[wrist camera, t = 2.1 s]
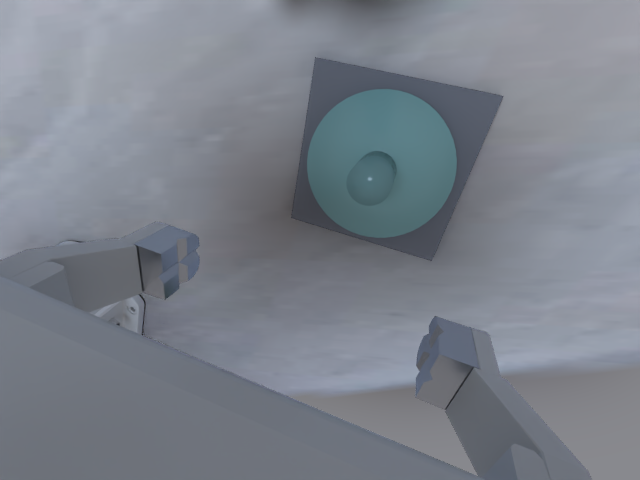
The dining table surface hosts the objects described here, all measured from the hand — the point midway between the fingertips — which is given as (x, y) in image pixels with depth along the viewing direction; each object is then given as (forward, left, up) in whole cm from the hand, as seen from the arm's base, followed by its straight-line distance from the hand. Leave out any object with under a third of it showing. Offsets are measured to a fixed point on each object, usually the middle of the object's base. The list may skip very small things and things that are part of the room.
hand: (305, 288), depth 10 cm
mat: (0, 0, -19) cm, 19 cm away
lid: (0, 0, -18) cm, 19 cm away
